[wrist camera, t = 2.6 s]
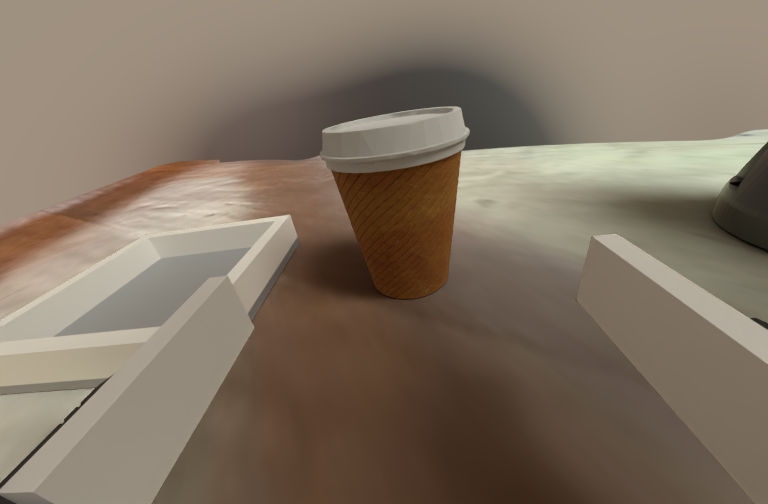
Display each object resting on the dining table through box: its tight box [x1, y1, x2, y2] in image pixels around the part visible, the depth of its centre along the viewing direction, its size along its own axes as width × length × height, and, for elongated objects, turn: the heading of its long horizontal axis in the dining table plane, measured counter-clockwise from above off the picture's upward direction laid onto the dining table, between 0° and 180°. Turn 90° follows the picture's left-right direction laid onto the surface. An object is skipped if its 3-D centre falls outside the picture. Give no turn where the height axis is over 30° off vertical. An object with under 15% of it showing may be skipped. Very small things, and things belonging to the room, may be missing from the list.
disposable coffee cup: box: [320, 107, 469, 299], centre depth 20 cm, size 10×10×12 cm
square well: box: [0, 215, 300, 395], centre depth 25 cm, size 17×17×4 cm
